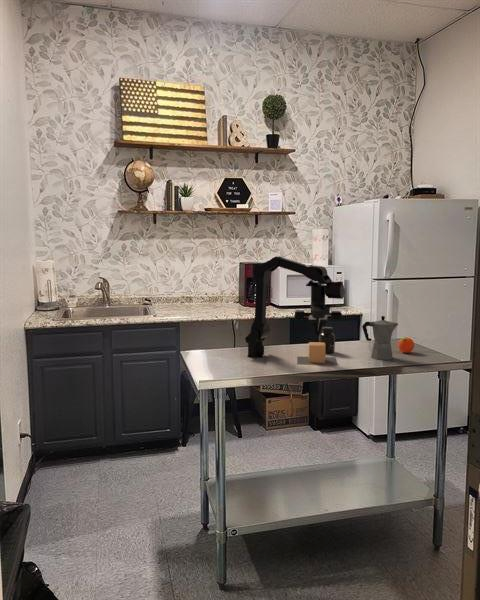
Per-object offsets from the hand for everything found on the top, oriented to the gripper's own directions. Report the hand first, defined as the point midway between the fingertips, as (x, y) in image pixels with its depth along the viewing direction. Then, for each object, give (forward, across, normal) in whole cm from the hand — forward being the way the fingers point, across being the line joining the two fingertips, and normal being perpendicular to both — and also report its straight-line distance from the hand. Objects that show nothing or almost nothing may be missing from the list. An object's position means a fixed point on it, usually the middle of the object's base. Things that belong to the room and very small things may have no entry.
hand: (317, 335), depth 209 cm
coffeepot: (+12, +27, +13) cm, 32 cm away
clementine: (+12, +40, +24) cm, 48 cm away
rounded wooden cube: (+10, 0, 0) cm, 10 cm away
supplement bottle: (+12, +5, +17) cm, 21 cm away
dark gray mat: (+11, 0, 0) cm, 11 cm away
